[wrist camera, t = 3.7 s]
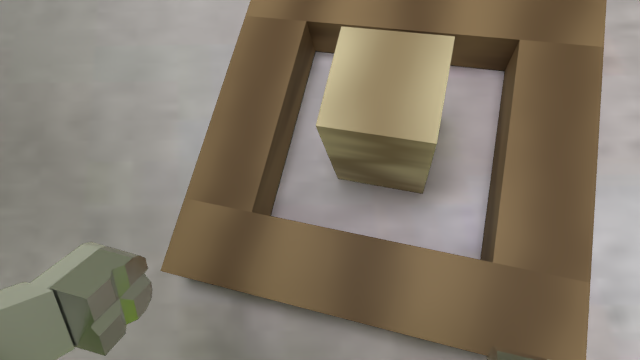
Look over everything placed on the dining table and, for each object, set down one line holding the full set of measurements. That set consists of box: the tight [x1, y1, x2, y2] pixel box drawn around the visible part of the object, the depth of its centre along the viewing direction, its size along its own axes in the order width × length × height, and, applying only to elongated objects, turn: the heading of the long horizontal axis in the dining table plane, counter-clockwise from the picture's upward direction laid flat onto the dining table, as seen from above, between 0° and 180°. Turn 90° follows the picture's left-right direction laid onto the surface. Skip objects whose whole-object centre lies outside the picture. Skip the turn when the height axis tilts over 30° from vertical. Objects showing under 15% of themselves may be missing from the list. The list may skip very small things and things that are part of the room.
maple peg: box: [316, 26, 455, 194], centre depth 20 cm, size 5×5×8 cm
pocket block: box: [161, 0, 606, 360], centre depth 22 cm, size 20×20×3 cm
